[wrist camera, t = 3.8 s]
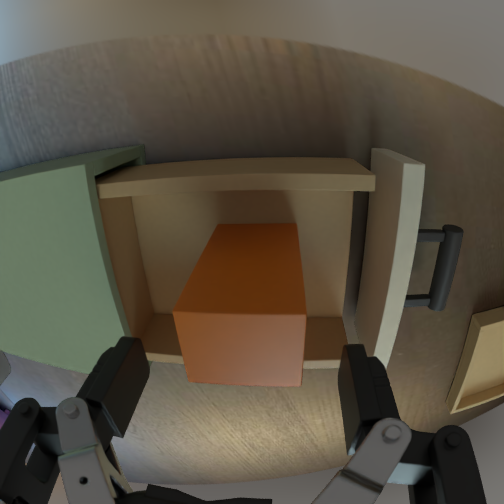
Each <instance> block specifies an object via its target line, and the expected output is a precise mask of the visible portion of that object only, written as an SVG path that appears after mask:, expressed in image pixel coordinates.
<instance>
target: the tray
mask: <svg viewBox="0 0 504 504" xmlns="http://www.w3.org/2000/svg"><path fill="white" fill-rule="evenodd" d="M501 396H504V306H503V307H499V308H495V309H492V310H488V311H484V312H480V313H476V314H473V315H472V318H471V322H470V326H469V330H468V334H467V338H466V342H465V345H464V349H463V352H462V356H461V359H460V362H459V365H458V368H457V371H456V374H455V377H454V380H453V383H452V386H451V389H450V392H449V394H448V397H447V400H446V404H447V407H448V409H449V412H450V414H452V413H456V412H459V411H462V410H465V409H468V408H471V407H474V406H477V405H480V404H483V403H485V402H488V401H491V400H493V399H496V398H498V397H501Z"/></svg>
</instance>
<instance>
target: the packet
mask: <svg viewBox="0 0 504 504" xmlns="http://www.w3.org/2000/svg"><path fill="white" fill-rule="evenodd" d="M172 312H173V317H174V322H175V326H176V331H177V335H178V340H179V344H180V348H181V352H182V357H183V361H184V365H185V369H186V373H187V377H188V381H189V382H196V383H208V384H222V385H240V386H270V387H300V386H301V385H302V374H303V362H304V350H305V337H306V323H307V308H306V298H305V289H304V279H303V270H302V261H301V253H300V244H299V236H298V228H297V224H296V223H262V224H217V226H216V228H215V230H214V232H213V233H212V235H211V237H210V239H209V241H208V243H207V245H206V247H205V248H204V250H203V252H202V254H201V256H200V258H199V260H198V262H197V264H196V266H195V267H194V269H193V271H192V273H191V275H190V277H189V279H188V281H187V283H186V285H185V287H184V289H183V291H182V293H181V295H180V297H179V299H178V301H177V303H176V305H175V306H174V308H173V311H172Z"/></svg>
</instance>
